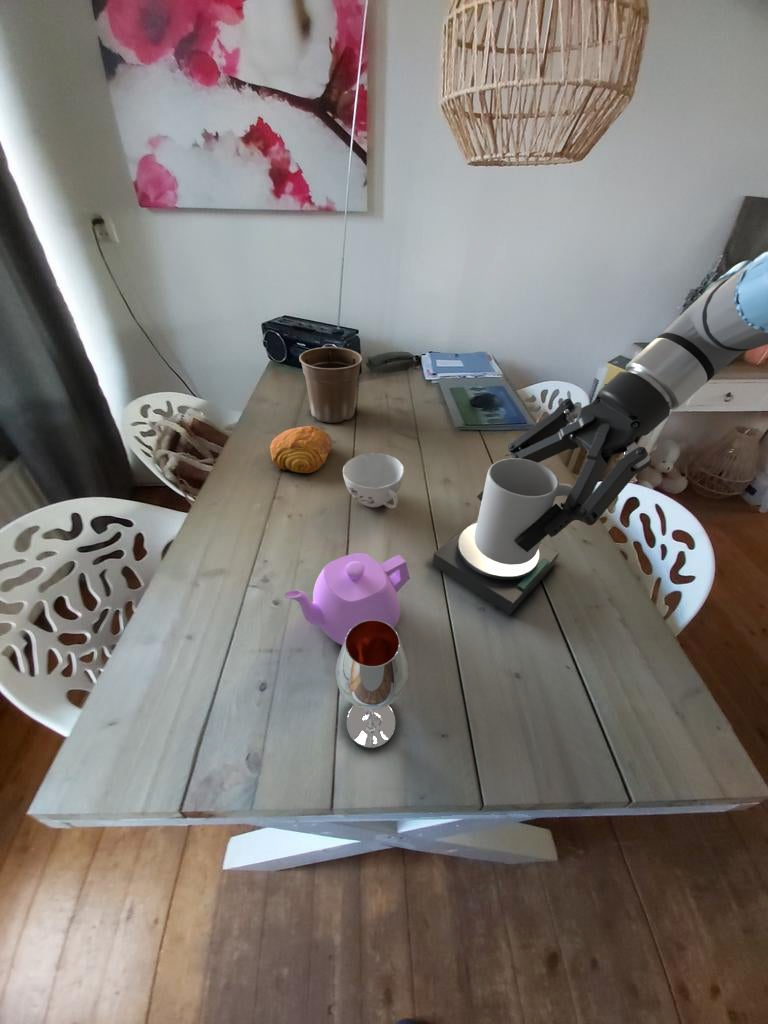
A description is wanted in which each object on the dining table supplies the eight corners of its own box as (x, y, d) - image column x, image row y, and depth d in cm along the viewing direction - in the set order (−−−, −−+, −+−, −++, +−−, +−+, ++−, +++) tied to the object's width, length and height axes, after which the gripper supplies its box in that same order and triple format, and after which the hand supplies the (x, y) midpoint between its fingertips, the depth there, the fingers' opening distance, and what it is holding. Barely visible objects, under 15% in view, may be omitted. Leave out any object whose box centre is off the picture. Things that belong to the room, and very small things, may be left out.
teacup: (333, 492, 96) (332, 461, 91) (383, 476, 101) (384, 446, 96) (367, 532, 86) (367, 500, 81) (420, 513, 91) (423, 481, 86)
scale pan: (552, 550, 78) (553, 546, 78) (511, 593, 70) (513, 590, 70) (485, 514, 85) (486, 511, 85) (442, 550, 77) (442, 547, 77)
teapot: (278, 610, 71) (268, 562, 64) (386, 568, 79) (388, 521, 72) (309, 678, 62) (302, 631, 55) (427, 622, 70) (434, 575, 63)
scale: (554, 564, 81) (560, 550, 78) (509, 615, 71) (514, 601, 69) (481, 524, 89) (484, 510, 87) (432, 565, 80) (434, 550, 77)
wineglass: (414, 735, 56) (426, 655, 45) (357, 769, 53) (355, 692, 42) (382, 683, 62) (386, 600, 50) (329, 711, 58) (320, 629, 47)
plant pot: (361, 400, 132) (361, 346, 121) (363, 427, 119) (362, 368, 109) (306, 401, 130) (301, 346, 120) (302, 427, 118) (296, 368, 108)
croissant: (337, 452, 113) (338, 422, 109) (322, 479, 99) (322, 446, 95) (283, 445, 114) (281, 415, 110) (260, 471, 101) (257, 438, 96)
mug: (484, 567, 56) (500, 500, 49) (466, 524, 63) (478, 459, 56) (573, 561, 57) (601, 494, 50) (546, 519, 64) (568, 454, 57)
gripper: (734, 453, 46) (563, 591, 52) (595, 375, 61) (475, 489, 67) (723, 413, 41) (536, 571, 47) (575, 340, 56) (448, 466, 62)
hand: (500, 523), depth 57 cm, fingers closed on mug, 8 cm apart
